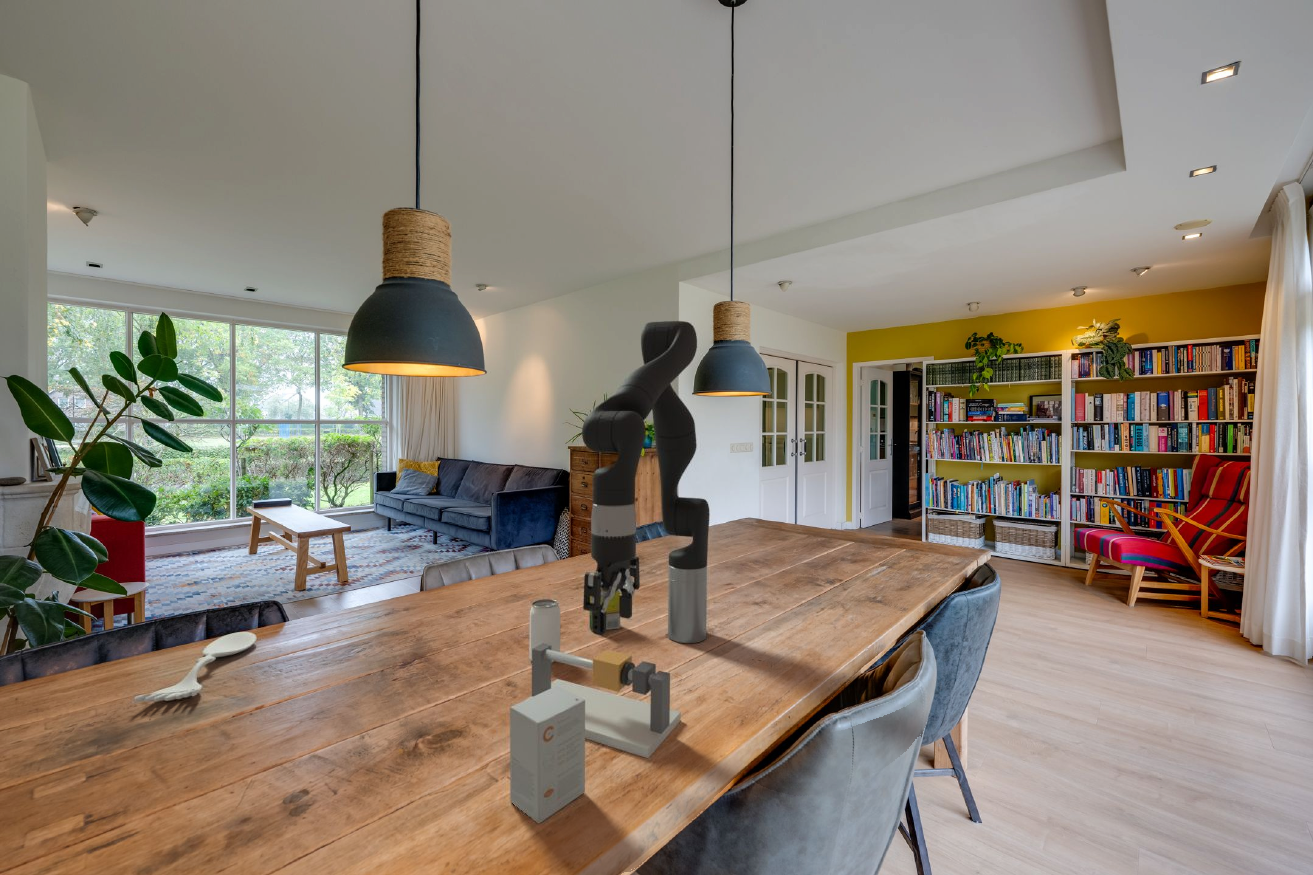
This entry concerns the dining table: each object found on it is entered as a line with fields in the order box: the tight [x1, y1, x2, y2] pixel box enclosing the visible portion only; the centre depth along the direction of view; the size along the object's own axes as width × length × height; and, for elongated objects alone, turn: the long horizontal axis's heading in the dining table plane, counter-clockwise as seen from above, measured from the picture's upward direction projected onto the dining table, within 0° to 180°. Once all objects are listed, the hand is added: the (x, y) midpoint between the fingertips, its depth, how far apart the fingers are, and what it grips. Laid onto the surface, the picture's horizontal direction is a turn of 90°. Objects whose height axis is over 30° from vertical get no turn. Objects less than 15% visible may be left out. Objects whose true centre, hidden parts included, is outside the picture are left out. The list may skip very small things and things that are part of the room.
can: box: [529, 598, 561, 664], centre depth 117 cm, size 6×6×12 cm
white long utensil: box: [133, 631, 258, 704], centre depth 110 cm, size 9×32×4 cm, turn 18°
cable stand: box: [525, 643, 682, 759], centre depth 94 cm, size 12×26×11 cm, turn 63°
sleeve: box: [592, 649, 633, 692], centre depth 92 cm, size 4×5×4 cm
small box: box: [509, 686, 586, 825], centre depth 73 cm, size 8×6×13 cm
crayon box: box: [589, 588, 621, 633], centre depth 135 cm, size 7×3×12 cm, turn 108°
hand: (613, 625), depth 92 cm, fingers open, 8 cm apart
